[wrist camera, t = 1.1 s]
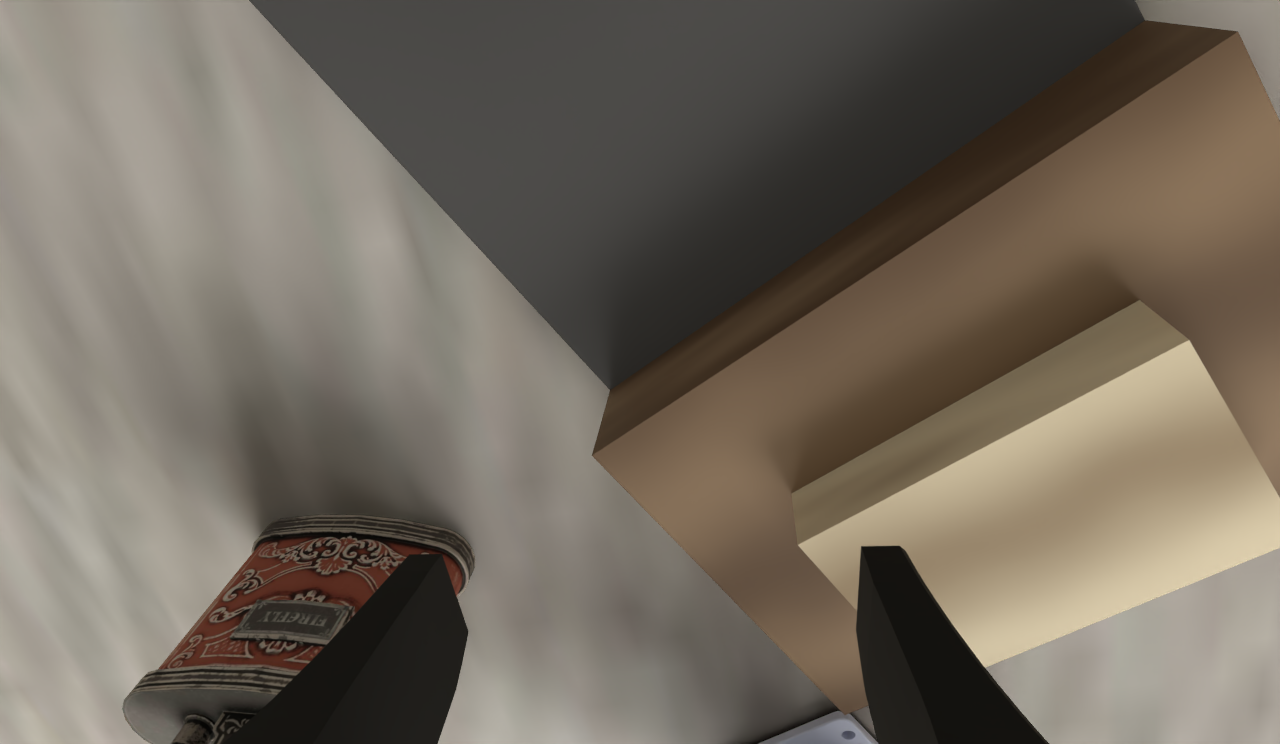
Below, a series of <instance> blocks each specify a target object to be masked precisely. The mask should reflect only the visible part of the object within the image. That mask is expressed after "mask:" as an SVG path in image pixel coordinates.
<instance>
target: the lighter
mask: <svg viewBox="0 0 1280 744" xmlns="http://www.w3.org/2000/svg"><path fill="white" fill-rule="evenodd" d="M409 554H442V555H443V558H444V561H445V564H446V567H447V570H448V573H449V576H450V579H451V582H452V585H453V588H454V591H455V594H456V597H458V596H459V595H460V594H462V593H463V592H464V590H465V588H466V586H467V584H468V582H469V579H470V577H471V575H472V572H473V570H474V568H475V556H474V553H473V550H472V548H471V547H470V545H469V544H468V543H467V541H466V540H465V539H464V538H463V537H461V536H460V535H459V534H457V533H456V532H453V531H450V530H448V529H445V528H440V527H435V526H430V525H426V524H421V523H416V522H411V521H406V520H400V519H391V518H382V517H374V516H365V515H314V516H305V517H295V518H286V519H279V520H276V521H273V522H272V523H271V524H270V525H269V526H268V527H267V528H266V529H265V530H264V532H263V533H262V534H261V535H260V536H259V538H258V539H257V540H256V541H255V542H254V545H253V548H252V555H251V556H250V557H249V558H248V559H247V561H246V562H245V563H244V564H243V566H242V567H241V568H240V569H239V571H238V572H237V573H236V574H235V575H234V577H233V578H232V579H231V580H230V582H229V583H228V584H227V585H226V586H225V588H224V589H223V590H222V591H221V593H220V594H219V595H218V596H217V598H216V599H215V600H214V601H213V602H212V604H211V605H210V606H209V607H208V609H207V610H206V611H205V612H204V613H203V615H202V616H201V617H200V618H199V620H198V621H197V622H196V623H195V625H194V626H193V627H192V628H191V629H190V631H189V632H188V633H187V634H186V636H185V637H184V638H183V639H182V640H181V642H180V643H179V644H178V645H177V647H176V648H175V649H174V650H173V652H172V653H171V654H170V655H169V656H168V658H167V659H166V660H165V661H164V663H163V664H162V665H161V666H160V667H159V669H158V670H155V671H151V672H148V673H147V674H146V675H145V676H144V677H143V678H142V679H141V680H140V682H139V683H138V684H137V685H136V686H135V688H134V689H133V690H132V691H131V692H130V694H129V695H128V696H127V697H126V698H125V700H124V703H123V708H122V709H123V713H124V716H125V719H126V721H127V722H128V724H129V725H130V726H131V728H132V729H133V730H134V731H135V732H136V733H137V734H138V735H139V736H140V737H142V738H143V739H144V740H146V741H147V742H149V743H151V744H222V743H224V742H225V741H226V740H227V739H228V738H229V737H231V736H232V735H233V734H234V733H235V732H236V731H238V730H239V729H240V728H241V727H242V726H243V725H245V724H246V723H247V722H248V721H249V720H250V719H251V718H252V717H254V716H255V715H256V714H257V713H258V712H259V711H260V710H261V709H262V708H263V707H264V706H266V705H267V704H268V703H269V702H270V701H271V700H272V699H273V698H274V697H275V696H276V695H277V694H278V693H279V692H280V691H281V690H282V689H283V688H284V687H285V686H286V685H287V684H288V683H289V682H290V681H291V680H292V679H293V678H294V677H295V676H296V675H297V674H298V673H299V672H300V671H301V670H302V669H303V668H304V667H305V666H306V665H307V664H308V663H309V662H310V661H311V660H312V659H313V658H314V657H315V656H316V655H317V654H318V653H319V652H320V651H321V650H322V649H323V648H324V647H325V646H326V645H327V644H328V643H329V641H330V640H331V639H332V638H333V637H334V636H335V635H336V634H337V633H338V632H339V631H340V630H341V629H342V628H343V627H344V625H345V624H346V623H347V622H348V621H349V620H350V619H351V618H352V617H353V616H354V615H355V614H356V612H357V611H358V610H359V609H360V608H361V607H362V606H363V605H364V604H365V602H366V601H367V600H368V599H369V598H370V597H371V596H372V595H373V594H374V593H375V591H376V590H377V589H378V588H379V587H380V586H381V585H382V584H383V583H384V581H385V580H386V579H387V578H388V577H389V576H390V575H391V574H392V573H393V572H394V570H395V569H396V568H397V567H398V566H399V565H400V564H401V563H402V562H403V561H404V560H405V559H406V558H407V556H408V555H409Z"/></svg>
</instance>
